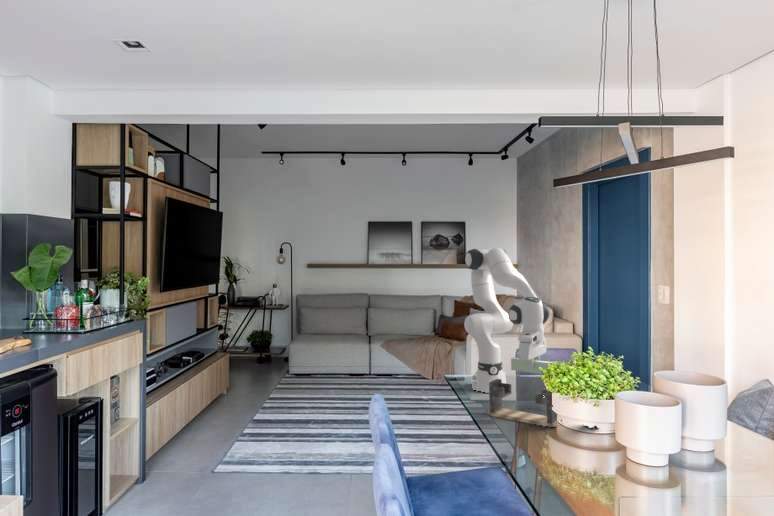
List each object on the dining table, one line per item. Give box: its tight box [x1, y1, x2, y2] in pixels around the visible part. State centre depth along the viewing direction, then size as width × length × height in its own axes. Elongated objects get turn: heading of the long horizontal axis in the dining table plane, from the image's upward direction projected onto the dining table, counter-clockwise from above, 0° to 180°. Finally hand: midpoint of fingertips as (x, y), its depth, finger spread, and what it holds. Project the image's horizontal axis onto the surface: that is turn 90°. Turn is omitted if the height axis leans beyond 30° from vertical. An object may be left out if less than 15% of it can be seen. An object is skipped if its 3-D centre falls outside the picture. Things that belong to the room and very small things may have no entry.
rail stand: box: [487, 379, 557, 428], centre depth 206 cm, size 29×8×14 cm, turn 50°
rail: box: [510, 357, 554, 375], centre depth 215 cm, size 20×3×5 cm, turn 50°
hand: (534, 367), depth 215 cm, fingers closed on rail, 3 cm apart
